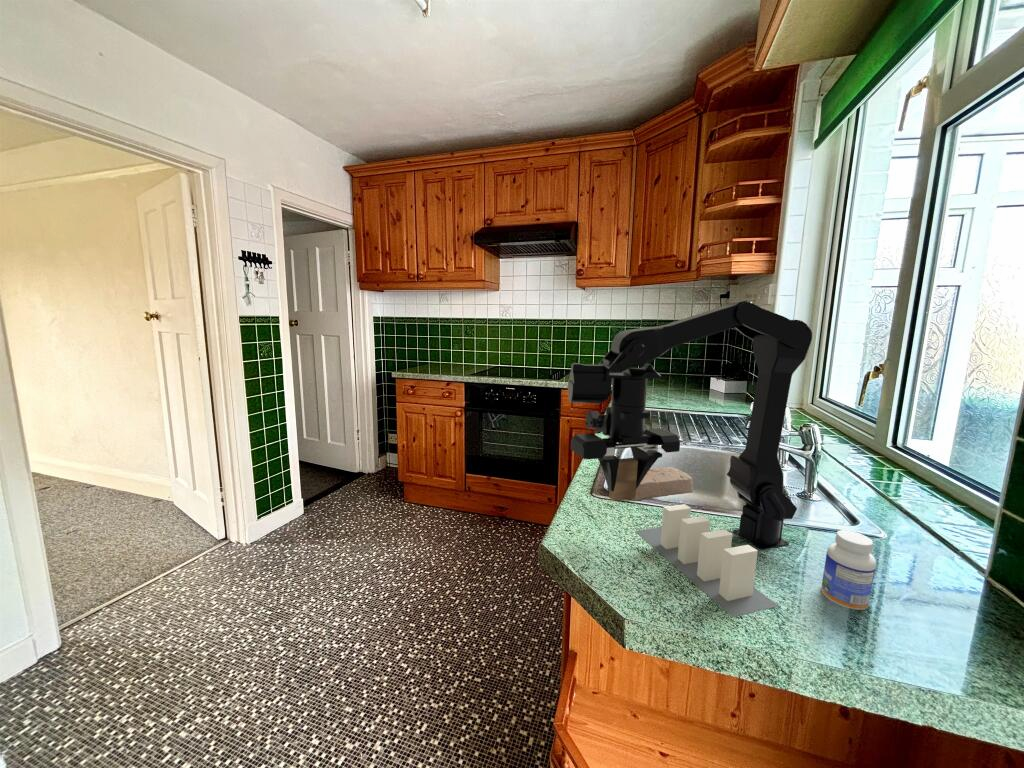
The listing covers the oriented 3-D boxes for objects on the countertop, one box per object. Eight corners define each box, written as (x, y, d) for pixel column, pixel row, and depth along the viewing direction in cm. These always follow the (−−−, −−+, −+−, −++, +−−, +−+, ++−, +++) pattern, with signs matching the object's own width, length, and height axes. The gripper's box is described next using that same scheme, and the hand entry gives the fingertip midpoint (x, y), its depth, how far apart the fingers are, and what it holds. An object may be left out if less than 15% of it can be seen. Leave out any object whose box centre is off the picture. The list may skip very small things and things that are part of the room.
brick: (670, 481, 102) (672, 463, 101) (694, 495, 94) (696, 475, 93) (611, 489, 97) (612, 470, 96) (631, 504, 89) (633, 483, 88)
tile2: (681, 540, 73) (684, 504, 72) (687, 545, 71) (691, 508, 70) (660, 544, 72) (663, 506, 71) (666, 549, 70) (669, 511, 69)
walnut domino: (630, 494, 74) (632, 457, 73) (635, 498, 73) (638, 460, 72) (608, 497, 73) (611, 459, 72) (613, 500, 72) (615, 462, 71)
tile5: (743, 588, 60) (748, 544, 59) (752, 595, 59) (757, 550, 58) (718, 593, 59) (723, 549, 58) (727, 601, 57) (732, 555, 56)
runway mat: (671, 527, 78) (671, 525, 78) (778, 608, 57) (779, 605, 57) (634, 532, 76) (634, 530, 76) (732, 619, 54) (732, 616, 54)
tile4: (719, 570, 64) (724, 529, 63) (727, 576, 63) (732, 534, 62) (696, 575, 63) (700, 533, 62) (704, 581, 62) (708, 538, 61)
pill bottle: (821, 582, 63) (830, 523, 61) (868, 597, 59) (878, 535, 58) (819, 600, 58) (829, 537, 57) (869, 618, 55) (880, 552, 53)
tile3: (699, 554, 69) (703, 515, 68) (706, 560, 67) (710, 520, 66) (677, 558, 67) (680, 519, 66) (684, 564, 66) (687, 523, 65)
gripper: (647, 393, 81) (641, 468, 83) (559, 396, 75) (556, 477, 78) (685, 405, 70) (678, 490, 72) (587, 410, 65) (582, 502, 67)
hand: (622, 489), depth 73 cm, fingers closed on walnut domino, 4 cm apart
